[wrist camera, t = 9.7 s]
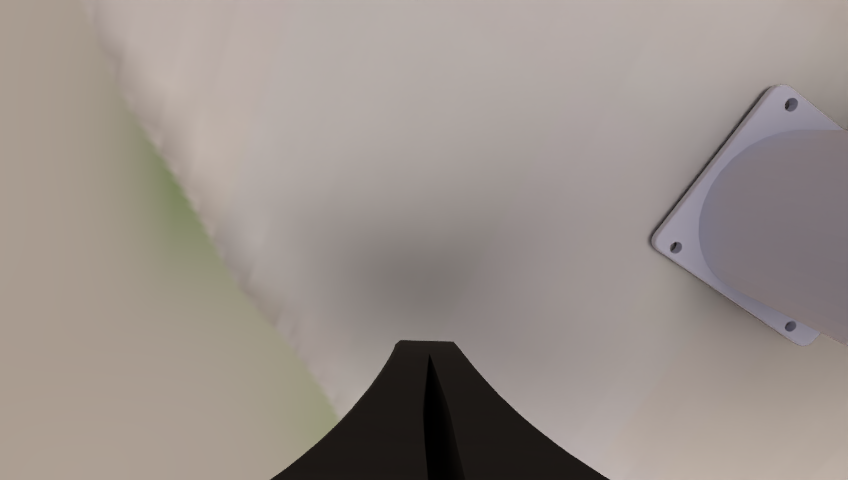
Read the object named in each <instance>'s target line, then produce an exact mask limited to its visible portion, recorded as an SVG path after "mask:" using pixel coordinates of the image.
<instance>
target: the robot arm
mask: <svg viewBox="0 0 848 480" xmlns="http://www.w3.org/2000/svg"><path fill="white" fill-rule="evenodd" d="M787 100H788V101H789V107H788V109H787V110H786V109H785V103H786V101H787ZM651 242H652V246H653V247H654V248H655V249H656V250H658V251H659V252H661V253H662V254H663V255H665V256H666V257H668V258H669V259H671V260H672V261H674V262H675V263H677V264H678V265H680V266H681V267H683V268H684V269H686V270H687V271H689V272H690V273H692V274H693V275H694V276H696V277H697V278H699V279H700V280H702V281H703V282H705V283H706V284H708V285H709V286H711V287H712V288H714V289H715V290H717V291H718V292H720V293H721V294H722V295H724V296H725V297H727V298H728V299H730V300H731V301H733V302H734V303H736V304H737V305H739V306H740V307H742V308H743V309H745V310H746V311H748V312H749V313H750V314H752V315H753V316H755V317H756V318H758V319H759V320H761V321H762V322H764V323H765V324H767V325H768V326H770V327H771V328H773V329H774V330H776V331H777V332H778V333H780V334H781V335H783V336H784V337H786V338H787V339H789V340H790V341H792V342H793V343H795V344H797V345H800V346H806V345H809V344H810V343H812V342H813V341H814V340H815V339H816V338H817V337H818V336H819V334H820V333H822V334H824V335H826V336H828V337H830V338H832V339H834V340H836V341H838V342H840V343H842V344H844V345H846V346H848V130H843V129H842V128H841V127H840V126H838V125H837V124H836V123H835V122H834V121H832V120H831V119H830V118H829V117H827V116H826V115H825V114H824V113H822V112H821V111H820V110H819V109H817V108H816V107H815V106H814V105H813V104H811V103H810V102H809V101H808V100H806V99H805V98H804V97H803V96H801V95H800V94H799V93H798V92H797V91H795V90H794V89H793V88H792V87H790V86H788V85H775V86H773V87H770V88H769V89H768V90H767V91H766V92H765V94H764V95H763V96H762V97H761V99H760V100H759V101H758V102H757V104H756V105H755V106H754V108H753V109H752V110H751V111H750V113H749V114H748V115H747V116H746V118H745V119H744V120H743V121H742V123H741V124H740V125H739V127H738V128H737V129H736V130H735V132H734V133H733V134H732V135H731V137H730V138H729V139H728V141H727V142H726V143H725V144H724V146H723V147H722V148H721V149H720V151H719V152H718V153H717V154H716V156H715V157H714V158H713V160H712V161H711V162H710V163H709V165H708V166H707V167H706V168H705V170H704V171H703V172H702V174H701V175H700V176H699V177H698V179H697V180H696V181H695V182H694V184H693V185H692V186H691V187H690V189H689V190H688V191H687V193H686V194H685V195H684V196H683V198H682V199H681V200H680V201H679V203H678V204H677V205H676V207H675V208H674V209H673V210H672V212H671V213H670V214H669V215H668V217H667V218H666V219H665V220H664V222H663V223H662V224H661V226H660V227H659V228H658V229H657V231H656V232H655V233H654V235H653V237H652V241H651ZM674 242H676V244H677V246H676V248H675V249H674V250H672V251H670V246H671V244H673V243H674ZM788 322H789V324H788V325H787V326H786V327H785V325H786V324H787V323H788ZM271 480H609V479H608V478H606V477H604V476H603V475H601V474H600V473H598V472H597V471H595V470H594V469H592V468H591V467H589V466H588V465H586V464H585V463H583V462H581V461H580V460H578V459H577V458H575V457H574V456H572V455H571V454H569V453H568V452H567V451H565V450H564V449H562V448H561V447H560V446H558V445H557V444H556V443H554V442H553V441H552V440H550V439H549V438H548V437H547V436H545V435H544V434H543V433H542V432H540V431H539V430H538V429H536V428H535V427H534V426H533V425H531V424H530V423H529V422H528V421H527V420H525V419H524V418H523V417H522V416H521V415H520V414H519V413H518V412H516V411H515V410H514V409H513V408H512V407H511V406H510V405H509V404H508V403H507V402H506V401H505V400H504V399H503V398H502V397H501V396H500V395H499V394H498V393H497V392H496V391H495V390H494V389H493V388H492V387H491V386H490V385H489V384H488V382H487V381H486V380H485V379H484V378H483V377H482V376H481V375H480V373H479V372H478V371H477V370H476V369H475V368H474V366H473V365H472V364H471V363H470V361H469V360H468V359H467V358H466V356H465V355H464V354H463V353H462V351H461V350H460V349H459V348H458V346H457V345H456V344H455V343H454V342H445V341H411V340H400V341H399V342H398V343H397V344H396V345H395V347H394V350H393V352H392V354H391V356H390V358H389V359H388V361H387V363H386V364H385V366H384V367H383V369H382V370H381V372H380V373H379V375H378V376H377V378H376V379H375V380H374V382H373V383H372V385H371V386H370V387H369V389H368V390H367V391H366V392H365V393H364V395H363V396H362V397H361V398H360V399H359V401H358V402H357V403H356V404H355V405H354V407H353V408H352V409H351V410H350V411H349V412H348V413H347V414H346V416H345V417H344V418H343V419H342V420H341V421H340V422H339V423H338V424H337V425H336V426H335V427H334V428H333V429H332V430H331V431H330V432H329V433H328V434H327V435H326V436H324V437H323V438H322V439H321V440H320V441H319V442H318V443H317V444H315V445H314V446H313V447H312V448H311V449H309V451H307V452H306V453H305V454H304V455H303V456H301V457H300V458H299V459H297V460H296V461H295V462H294V463H292V464H291V465H290V466H289V467H287V468H286V469H285V470H283V471H282V472H281V473H279V474H278V475H276V476H275V477H273V478H272V479H271Z"/></svg>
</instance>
